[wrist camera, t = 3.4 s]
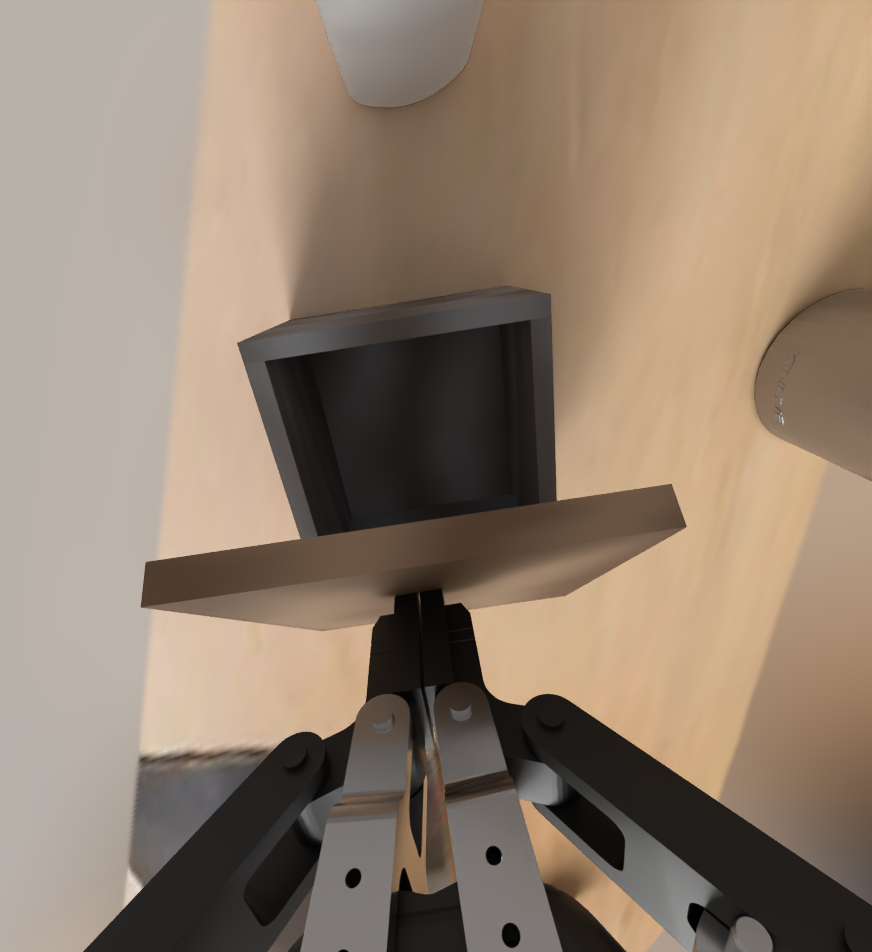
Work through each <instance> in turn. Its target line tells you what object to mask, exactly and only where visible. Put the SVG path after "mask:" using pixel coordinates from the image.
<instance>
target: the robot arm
mask: <svg viewBox="0 0 872 952" xmlns="http://www.w3.org/2000/svg"><path fill="white" fill-rule="evenodd" d="M755 404H756V410H757V413H758V415H759V417H760V419H761V422H762V424H763V425H764V426H765V427H766V428H767V429H768V430H769V431H770V432H771V433H772V434H774V435H775V436H777V437H779V438H780V439H782V440H784V441H787V442H789V443H791V444H793V445H795V446H797V447H800V448H802V449H804V450H806V451H808V452H810V453H812V454H815V455H817V456H819V457H821V458H823V459H825V460H827V461H829V462H831V463H833V464H835V465H837V466H840V467H842V468H844V469H846V470H848V471H850V472H853V473H855V474H857V475H859V476H861V477H863V478H865V479H868V480H870V481H872V289H863V288H861V289H854V290H847V291H842V292H840V293H837V294H834V295H831V296H828V297H826V298H824V299H822V300H820V301H818V302H817V303H815V304H813V305H811V306H810V307H808V308H807V309H805V310H804V311H803V312H802V313H800V314H799V315H798V316H797V317H795V318H794V319H793V320H792V321H791V322H790V323H789V324H788V325H787V326H786V327H785V328H784V329H783V330H782V331H781V333H780V334H779V335H778V336H777V338H776V339H775V341H774V342H773V343H772V345H771V346H770V348H769V349H768V351H767V353H766V355H765V357H764V359H763V361H762V364H761V366H760V368H759V372H758V376H757V379H756V383H755ZM371 644H372V646H371V652H370V656H371V657H370V663H369V675H368V686H367V697H366V703H365V704H364V705H363V707H362V708H361V709H360V711H359V712H358V715H357V717H356V721H355V722H354V723H352V724H351V725H350V726H349V727H347V728H346V729H344V730H342V731H341V732H339V733H336V734H334V735H332V736H330V737H328V738H326V739H324V740H322V739H321V737H319V736H318V735H317V734H315V733H312V732H300V733H296V734H294V735H292V736H290V737H288V738H286V739H285V740H284V741H282V742H281V743H280V744H279V745H278V746H277V747H276V748H275V749H274V750H273V751H272V752H271V753H270V754H269V755H268V756H267V758H266V759H265V760H264V761H263V762H262V763H261V764H260V765H259V766H258V767H257V768H256V769H255V770H254V771H253V772H252V773H251V774H250V776H249V777H248V778H247V779H246V780H245V781H244V782H243V783H242V784H241V785H240V786H239V787H238V788H237V789H236V790H235V791H234V792H233V794H232V795H231V796H230V797H229V798H228V799H227V800H226V801H225V802H224V803H223V804H222V805H221V806H220V807H219V808H218V809H217V810H216V812H215V813H214V814H213V815H212V816H211V817H210V818H209V819H208V820H207V821H206V822H205V823H204V824H203V825H202V826H201V827H200V829H199V830H198V831H197V832H196V833H195V834H194V835H193V836H192V837H191V838H190V839H189V840H188V841H187V842H186V843H185V844H184V845H183V847H182V848H181V849H180V850H179V851H178V852H177V853H176V854H175V855H174V856H173V857H172V858H171V859H170V860H169V861H168V862H167V863H166V865H165V866H164V867H163V868H162V869H161V870H160V871H159V872H158V873H157V874H156V875H155V876H154V877H153V878H152V879H151V880H150V881H149V883H148V884H147V885H146V886H145V887H144V888H143V889H142V890H141V891H140V892H139V893H138V894H137V895H136V896H135V897H134V898H133V899H132V901H131V902H130V903H129V904H128V905H127V906H126V907H125V908H124V909H123V910H122V911H121V912H120V913H119V915H117V916H116V918H115V919H114V920H113V921H112V922H111V923H110V924H109V925H108V926H107V927H106V928H105V929H104V930H103V931H102V932H101V933H100V934H99V936H98V937H97V938H96V939H95V940H94V941H93V942H92V943H91V944H90V945H89V946H88V947H87V948H86V949H85V950H84V952H268V950H269V949H270V947H271V946H272V945H273V943H274V942H275V940H276V939H277V937H278V936H279V934H280V933H281V932H282V930H283V929H284V927H285V926H286V924H287V923H288V921H289V920H290V919H291V917H292V916H293V914H294V913H295V911H296V910H297V908H298V907H299V906H300V904H301V903H302V901H303V900H304V898H305V897H306V895H307V894H308V893H309V891H310V890H311V888H312V887H313V885H314V887H313V892H312V896H311V902H310V906H309V911H308V917H307V921H306V926H305V931H304V934H303V935H302V936H301V937H300V938H299V939H298V940H297V941H296V942H295V943H294V944H293V946H292V947H291V948H290V949H289V951H288V952H626V951H625V950H624V949H623V947H622V946H621V945H620V944H619V943H618V942H617V941H616V940H615V939H614V938H613V937H612V936H611V934H610V933H609V932H608V931H607V930H606V929H605V928H604V927H603V926H602V925H601V924H600V922H599V921H598V920H597V919H596V918H595V917H594V916H593V915H592V914H591V913H590V912H589V911H588V910H587V909H586V908H585V907H583V906H582V905H581V904H580V903H579V902H578V901H576V900H575V899H574V898H572V897H571V896H569V895H568V894H566V893H565V892H563V891H561V890H559V889H557V888H555V887H553V886H551V885H549V884H546V883H543V882H542V878H541V875H540V871H539V868H538V864H537V861H536V857H535V854H534V850H533V847H532V844H531V840H530V837H529V833H528V830H527V826H526V823H525V819H524V816H523V812H522V809H521V805H520V802H519V799H521V800H526V801H531V802H532V804H533V805H534V807H535V808H536V809H537V810H538V811H539V812H540V813H541V814H542V815H543V816H544V817H545V818H546V819H547V820H548V821H549V822H550V823H551V824H552V825H554V826H555V827H556V828H557V829H558V830H559V831H560V832H561V833H562V834H563V835H564V836H565V837H566V838H567V839H569V840H570V841H571V842H572V843H573V844H574V845H575V846H576V847H577V848H578V849H579V850H580V851H581V852H582V853H584V854H585V855H586V856H587V857H588V858H589V859H590V860H591V861H592V862H593V863H594V864H595V865H596V866H597V867H599V868H600V869H601V870H602V871H603V872H604V873H605V874H606V875H607V876H608V877H609V878H610V879H611V880H612V881H614V882H615V883H616V884H617V885H618V886H619V887H620V888H621V889H622V890H623V891H624V892H625V893H626V894H627V895H629V896H630V897H631V898H632V899H633V900H634V901H635V902H636V903H637V904H638V905H639V906H640V907H641V908H642V909H644V910H645V911H646V912H647V913H648V914H649V915H650V916H651V917H652V918H653V919H654V920H655V921H656V922H657V923H659V924H660V925H661V926H662V927H663V928H664V929H665V930H666V931H667V932H668V933H669V934H670V935H671V936H672V937H674V938H675V939H676V940H677V941H678V942H679V943H680V944H681V945H682V946H683V947H684V948H685V949H687V951H689V952H872V905H870V904H869V903H867V902H866V901H864V900H863V899H861V898H860V897H858V896H857V895H855V894H854V893H852V892H851V891H849V890H848V889H846V888H845V887H843V886H842V885H840V884H839V883H838V882H836V881H835V880H833V879H832V878H830V877H829V876H827V875H826V874H824V873H823V872H821V871H820V870H818V869H817V868H815V867H814V866H812V865H811V864H809V863H808V862H806V861H805V860H804V859H802V858H801V857H799V856H798V855H796V854H795V853H793V852H792V851H790V850H789V849H787V848H786V847H784V846H783V845H781V844H780V843H778V842H777V841H775V840H774V839H773V838H771V837H770V836H768V835H767V834H765V833H764V832H762V831H761V830H759V829H758V828H756V827H755V826H753V825H752V824H750V823H749V822H747V821H746V820H744V819H743V818H741V817H740V816H738V815H737V814H736V813H734V812H732V811H731V810H730V809H728V808H727V807H725V806H724V805H722V804H721V803H719V802H718V801H716V800H715V799H713V798H712V797H710V796H709V795H707V794H706V793H705V792H703V791H702V790H700V789H699V788H697V787H696V786H694V785H693V784H691V783H690V782H688V781H687V780H685V779H684V778H682V777H681V776H679V775H678V774H676V773H675V772H673V771H672V770H671V769H669V768H668V767H666V766H665V765H663V764H662V763H660V762H659V761H657V760H656V759H654V758H653V757H651V756H650V755H648V754H647V753H645V752H644V751H642V750H641V749H639V748H638V747H637V746H635V745H634V744H632V743H631V742H629V741H628V740H626V739H625V738H623V737H622V736H620V735H619V734H617V733H616V732H614V731H613V730H611V729H610V728H608V727H607V726H605V725H604V724H603V723H601V722H600V721H598V720H597V719H595V718H594V717H592V716H591V715H589V714H588V713H586V712H585V711H583V710H582V709H580V708H579V707H577V706H576V705H574V704H573V703H571V702H570V701H569V700H567V699H565V698H563V697H561V696H558V695H554V694H543V695H539V696H536V697H534V698H532V699H531V700H530V701H528V702H527V704H526V705H525V706H523V705H516V704H510V703H506V702H503V701H501V700H499V699H497V698H495V697H494V696H493V695H492V694H491V693H490V692H489V691H488V690H487V688H486V687H485V684H484V681H483V677H482V672H481V667H480V661H479V656H478V651H477V646H476V641H475V636H474V631H473V625H472V620H471V615H470V612H469V611H468V610H467V609H466V608H465V607H464V605H463V604H462V603H456V604H450V605H445V600H444V594H443V590H442V589H439V590H432V591H426V592H420V601H419V596H418V593H414V594H407V595H401V596H395V598H394V614H389V615H382V616H380V617H379V619H378V620H377V622H376V624H375V626H374V627H373V629H372V641H371ZM433 727H434V732H435V736H436V741H437V745H438V748H439V752H440V759H441V765H442V772H443V779H444V785H445V801H446V808H447V815H448V822H449V829H450V836H451V842H452V849H453V856H454V863H455V870H456V876H457V882H456V883H454V884H452V885H450V886H448V887H446V888H444V889H442V890H440V891H438V892H436V893H434V894H428V891H427V881H426V869H425V851H426V808H427V777H426V750H430V749H435V748H434V733H433Z"/></svg>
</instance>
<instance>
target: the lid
mask: <svg viewBox="0 0 872 952" xmlns="http://www.w3.org/2000/svg"><path fill="white" fill-rule="evenodd" d="M686 527H687V526H686V524H685V521H684V518H683V515H682V512H681V509H680V507H679V504H678V501H677V498H676V495H675V492H674V490H673V487H672V484H668V485H661V486H655V487H648V488H641V489H634V490H628V491H621V492H614V493H608V494H601V495H594V496H587V497H581V498H574V499H567V500H560V501H554V502H547V503H540V504H534V505H527V506H520V507H513V508H507V509H500V510H493V511H487V512H480V513H473V514H466V515H460V516H453V517H446V518H439V519H433V520H426V521H419V522H413V523H406V524H399V525H392V526H386V527H379V528H372V529H365V530H359V531H352V532H345V533H339V534H332V535H325V536H318V537H312V538H305V539H298V540H292V541H285V542H278V543H271V544H265V545H258V546H251V547H244V548H238V549H231V550H224V551H218V552H211V553H204V554H197V555H191V556H184V557H177V558H170V559H164V560H157V561H150V562H146V564H145V574H144V583H143V592H142V602H141V607H142V608H149V609H157V610H165V611H172V612H180V613H187V614H195V615H203V616H210V617H218V618H226V619H233V620H241V621H249V622H256V623H264V624H271V625H279V626H287V627H294V628H302V629H310V630H317V631H327V630H333V629H340V628H347V627H354V626H361V625H368V624H375V623H376V622H377V620H378V619H379V617H380V616H382V615H389V614H394V598H395V596H401V595H407V594H414V593H418V596H419V601H420V592H426V591H432V590H439V589H442V590H443V594H444V600H445V605H450V604H456V603H462V604H463V605H464V607H465V608H466V609H467V610H471V609H478V608H485V607H492V606H498V605H505V604H512V603H519V602H526V601H533V600H540V599H547V598H553V597H560V596H566V595H568V594H569V593H571V592H573V591H575V590H576V589H578V588H580V587H582V586H583V585H585V584H587V583H589V582H591V581H592V580H594V579H596V578H598V577H599V576H601V575H603V574H605V573H606V572H608V571H610V570H612V569H613V568H615V567H617V566H619V565H621V564H622V563H624V562H626V561H628V560H629V559H631V558H633V557H635V556H636V555H638V554H640V553H642V552H644V551H645V550H647V549H649V548H651V547H652V546H654V545H656V544H658V543H659V542H661V541H663V540H665V539H666V538H668V537H670V536H672V535H674V534H675V533H677V532H679V531H681V530H682V529H684V528H686Z"/></svg>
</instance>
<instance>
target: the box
mask: <svg viewBox="0 0 872 952" xmlns="http://www.w3.org/2000/svg"><path fill="white" fill-rule="evenodd" d="M237 344H238V347H239V350H240V353H241V356H242V359H243V362H244V365H245V368H246V372H247V375H248V378H249V381H250V384H251V387H252V390H253V393H254V396H255V399H256V402H257V405H258V409H259V412H260V415H261V418H262V421H263V424H264V427H265V430H266V433H267V436H268V439H269V442H270V446H271V449H272V452H273V455H274V458H275V461H276V464H277V467H278V470H279V473H280V476H281V479H282V483H283V486H284V489H285V492H286V495H287V498H288V501H289V504H290V507H291V510H292V513H293V516H294V520H295V523H296V526H297V529H298V532H299V535H300V538H301V539H305V538H312V537H318V536H325V535H332V534H339V533H345V532H352V531H359V530H365V529H372V528H379V527H386V526H392V525H399V524H406V523H413V522H419V521H426V520H433V519H439V518H446V517H453V516H460V515H466V514H473V513H480V512H487V511H493V510H500V509H507V508H513V507H520V506H527V505H534V504H540V503H547V502H554V501H557V497H556V463H555V428H554V393H553V358H552V323H551V294H547V293H542V292H537V291H532V290H526V289H521V288H516V287H511V286H505V287H499V288H493V289H486V290H480V291H473V292H467V293H461V294H454V295H448V296H441V297H435V298H429V299H422V300H416V301H409V302H403V303H397V304H390V305H384V306H377V307H371V308H365V309H358V310H352V311H345V312H339V313H333V314H326V315H320V316H313V317H307V318H301V319H294V320H289V321H287V322H284V323H282V324H280V325H277V326H275V327H273V328H271V329H268V330H266V331H264V332H261V333H259V334H257V335H255V336H252V337H250V338H248V339H245V340H243V341H241V342H239V343H237Z"/></svg>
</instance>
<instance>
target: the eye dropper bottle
mask: <svg viewBox="0 0 872 952" xmlns="http://www.w3.org/2000/svg"><path fill="white" fill-rule="evenodd" d="M316 3H317V6H318V9H319V12H320V15H321V18H322V21H323V24H324V27H325V31H326V34H327V37H328V39H329V42H330V45H331V48H332V51H333V54H334V56H335V59H336V62H337V65H338V67H339V70H340V73H341V76H342V78H343V81H344V84H345V87H346V89H347V91H348V93H349V95H350V97H351V99H353V100H354V101H356V102H357V103H359V104H362V105H366V106H372V107H399V106H405V105H409V104H412V103H415V102H418V101H421V100H423V99H425V98H427V97H429V96H431V95H433V94H434V93H436V92H437V91H439V90H440V89H442V88H443V87H444V86H446V85H447V84H448V83H449V82H451V81H452V80H453V79H454V78H455V77H456V76H457V75H458V74H459V73H460V72H461V71H462V69H463V68H464V67H465V65H466V63H467V61H468V58H469V55H470V52H471V48H472V44H473V41H474V37H475V33H476V30H477V26H478V22H479V19H480V15H481V11H482V7H483V3H484V0H316Z"/></svg>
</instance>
